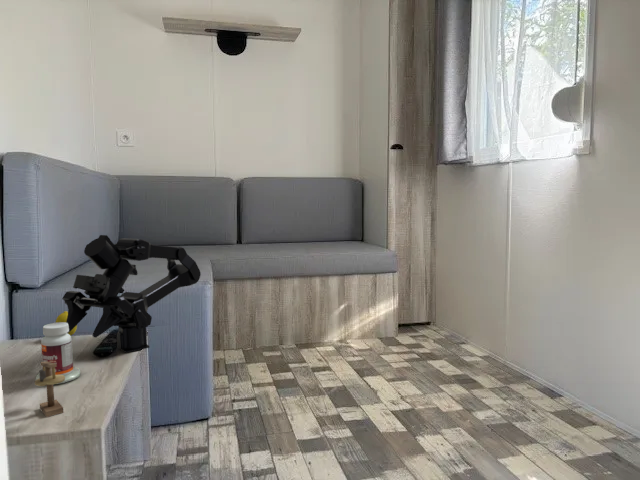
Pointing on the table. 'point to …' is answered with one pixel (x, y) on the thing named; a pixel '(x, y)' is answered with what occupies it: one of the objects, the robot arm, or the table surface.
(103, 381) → the table surface
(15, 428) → the table surface
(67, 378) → the dish
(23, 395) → the table surface
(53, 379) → the balance
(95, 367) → the table surface
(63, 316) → the lemon
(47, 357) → the pill bottle
